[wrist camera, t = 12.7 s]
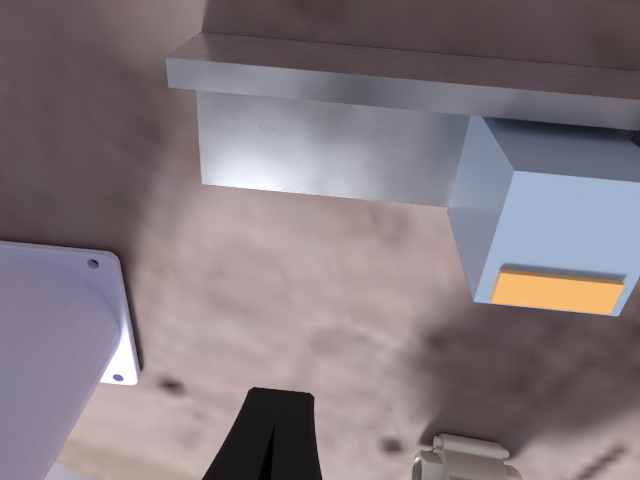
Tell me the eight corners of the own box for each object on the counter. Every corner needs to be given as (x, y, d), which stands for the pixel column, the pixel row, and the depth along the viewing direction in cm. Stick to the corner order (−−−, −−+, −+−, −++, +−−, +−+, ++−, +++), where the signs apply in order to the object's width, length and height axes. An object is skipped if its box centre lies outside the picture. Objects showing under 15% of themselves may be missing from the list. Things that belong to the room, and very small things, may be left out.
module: (447, 212, 18) (474, 306, 14) (473, 103, 16) (517, 174, 11) (557, 223, 18) (621, 321, 14) (600, 115, 16) (691, 191, 11)
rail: (208, 171, 19) (151, 269, 14) (200, 31, 16) (125, 86, 11) (687, 217, 19) (814, 333, 13) (761, 81, 16) (958, 162, 11)
